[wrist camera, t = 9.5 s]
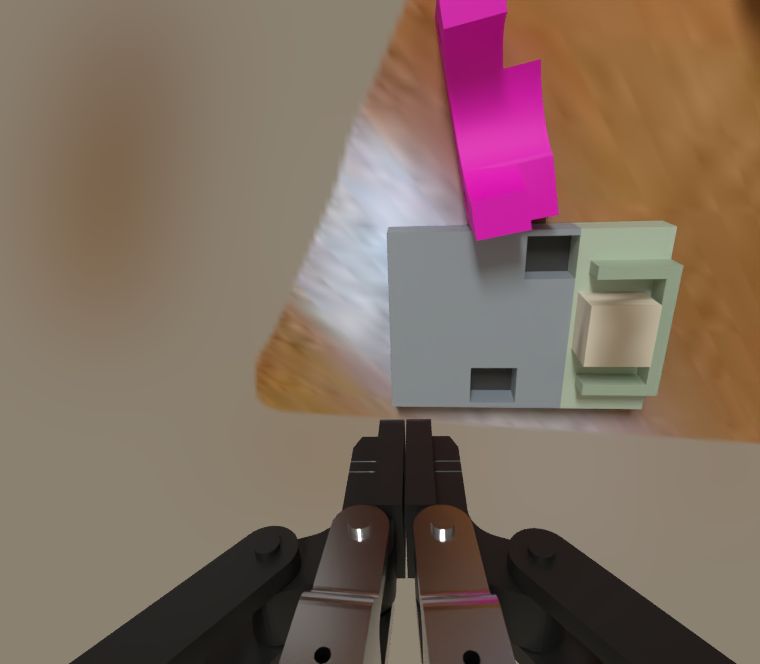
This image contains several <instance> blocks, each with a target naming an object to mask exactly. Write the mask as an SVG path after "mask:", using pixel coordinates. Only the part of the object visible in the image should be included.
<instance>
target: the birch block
mask: <svg viewBox="0 0 760 664" xmlns="http://www.w3.org/2000/svg"><path fill="white" fill-rule="evenodd" d="M661 311H662V305H661V304H659V303H658V302H657V301H655V300H654V299H653V298H651V297H650V296H649V295H647V294H646V293H645V292H643V291H612V292H578V297H577V305H576V313H575V321H574V329H573V338H572V346H571V349H572V350H573V352H574V353H575V355H576V356H577V358H578V359H579V361H580V362H581V364H582V365H583V367H651V362H652V357H653V352H654V347H655V342H656V337H657V331H658V326H659V321H660V316H661Z"/></svg>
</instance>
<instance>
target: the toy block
mask: <svg viewBox="0 0 760 664" xmlns="http://www.w3.org/2000/svg"><path fill="white" fill-rule="evenodd" d="M506 14H507V4H506V0H437V1H436V11H435V20H436V26H437V33H438V39H439V45H440V51H441V58H442V64H443V70H444V76H445V83H446V89H447V95H448V101H449V108H450V114H451V120H452V126H453V133H454V139H455V145H456V151H457V158H458V164H459V170H460V176H461V183H462V189H463V195H464V201H465V208H466V214H467V220H468V224H469V226H470V228H471V230H472V232H473V234H474V236H475V239H476V241H479V240H484V239H488V238H493V237H498V236H503V235H508V234H513V233H518V232H523V231H528V230H532V226H531V220H535V219H540V218H544V217H549V216H554V215H559V214H558V204H557V193H556V182H555V171H554V160H553V154H552V151H551V147H550V143H549V139H548V134H547V129H546V123H545V117H544V109H543V100H542V87H541V59H540V60H536V61H532V62H528V63H525V64H521V65H517V66H513V67H509V68H505V69H503V32H504V23H505V18H506Z"/></svg>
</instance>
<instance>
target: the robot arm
mask: <svg viewBox="0 0 760 664" xmlns="http://www.w3.org/2000/svg"><path fill="white" fill-rule="evenodd" d="M406 540H407V541H406ZM406 542H407V567H408V578H415V593H416V615H417V625H418V636H419V648H420V658H421V664H516V662H515V660H516V661H517V662H518V663H519V664H736V663H735V662H733V661H732V660H730V659H729V658H728V657H726V656H725V655H724V654H722V653H721V652H719V651H718V650H717V649H715V648H714V647H712V646H711V645H710V644H708V643H707V642H706V641H704V640H703V639H701V638H700V637H699V636H697V635H696V634H694V633H693V632H692V631H690V630H689V629H688V628H686V627H685V626H683V625H682V624H681V623H679V622H678V621H677V620H675V619H674V618H672V617H671V616H670V615H668V614H667V613H665V612H664V611H663V610H661V609H660V608H658V607H657V606H656V605H654V604H653V603H652V602H650V601H649V600H647V599H646V598H645V597H643V596H642V595H640V594H639V593H638V592H636V591H635V590H634V589H632V588H631V587H629V586H628V585H627V584H625V583H624V582H622V581H621V580H620V579H618V578H617V577H616V576H614V575H613V574H611V573H610V572H609V571H607V570H606V569H604V568H603V567H602V566H600V565H599V564H598V563H596V562H595V561H593V560H592V559H590V558H589V557H588V556H586V555H585V554H584V553H582V552H581V551H579V550H578V549H577V548H575V547H574V546H573V545H571V544H570V543H569V542H567V541H566V540H564V539H563V538H562V537H560V536H558V535H557V534H555V533H553V532H550V531H547V530H543V529H536V528H532V529H531V528H530V529H524V530H522V531H519V532H517V533H516V534H515V535H514V536H513V537H512V538H511V539H510V540H509V539H505V538H501V537H498V536H494V535H491V534H489V533H487V532H485V531H483V530H482V529H480V528H479V527H478V526H476V525H475V524H474V522H473V521H472V520H471V518H470V516H469V514H468V511H467V504H466V497H465V490H464V483H463V476H462V470H461V464H460V456H459V449H458V446H457V445H456V444H455V443H454V441H453V440H452V439H451V438H450V437H449V436H432V431H431V419H406V444H405V421H404V420H380V426H379V434H378V437H362V438H361V439H360V441H359V442H358V443H357V444H356V446H355V447H354V448H353V453H352V459H351V464H350V470H349V475H348V481H347V487H346V492H345V498H344V504H343V509H342V511H341V512H340V513H338V514H337V516H336V517H335V518H334V520H333V522H332V524H331V527H330V528H329V529H327V530H325V531H323V532H321V533H319V534H316V535H312V536H308V537H305V538H301V539H297V537H296V535H295V534H294V533H293V532H292V531H291V530H289V529H287V528H285V527H281V526H269V527H264V528H261V529H258V530H256V531H254V532H253V533H251V534H249V535H248V536H247V537H246V538H244V539H242V540H241V541H240V542H238V543H237V544H235V545H234V546H233V547H232V548H230V549H228V550H227V551H226V552H224V553H223V554H221V555H220V556H219V557H217V558H216V559H214V560H213V561H212V562H210V563H209V564H208V565H206V566H205V567H203V568H202V569H201V570H199V571H198V572H196V573H195V574H194V575H192V576H191V577H189V578H188V579H187V580H185V581H184V582H182V583H181V584H180V585H178V586H177V587H175V588H174V589H173V590H171V591H170V592H169V593H167V594H166V595H164V596H163V597H162V598H160V599H159V600H157V601H156V602H154V603H153V604H152V605H150V606H149V607H148V608H146V609H145V610H143V611H142V612H141V613H139V614H138V615H136V616H135V617H134V618H132V619H131V620H129V621H128V622H127V623H125V624H124V625H122V626H121V627H120V628H118V629H117V630H115V631H114V632H113V633H111V634H110V635H109V636H107V637H106V638H104V639H103V640H102V641H100V642H99V643H97V644H96V645H95V646H93V647H92V648H90V649H89V650H88V651H86V652H85V653H83V654H82V655H81V656H79V657H78V658H76V659H75V660H74V661H72V662H71V663H69V664H388V657H389V648H390V640H391V631H392V624H393V614H394V600H395V596H396V579H397V578H405V557H406V553H405V552H406Z"/></svg>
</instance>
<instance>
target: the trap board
mask: <svg viewBox="0 0 760 664" xmlns="http://www.w3.org/2000/svg"><path fill="white" fill-rule="evenodd" d="M531 226H532V230H528V231H523V232H518V233H513V234H508V235H503V236H498V237H493V238H488V239H484V240H479V241H476V239H475V236H474V234H473V232H472V230H471V228H470V226H469V225H458V226H415V227H389V228H388V231H387V252H388V282H389V312H390V342H391V372H392V402H393V406H400V407H492V408H584V409H642V405H643V400H644V396H657V392H658V387H659V383H660V378H661V373H662V368H663V363H664V358H665V353H666V349H667V344H668V339H669V334H670V329H671V324H672V319H673V314H674V310H675V305H676V300H677V295H678V290H679V285H680V280H681V275H682V271H683V265H681V264H679V263H678V262H676V261H674V260H672V259H671V256H672V251H673V246H674V240H675V235H676V230H677V226H675V225H672V224H669V223H667V222H664V221H630V222H587V223H544V224H531ZM612 291H643V292H645V293H646V294H647V295H649V296H650V297H651V298H653V299H654V300H655V301H657V302H658V303H659V304H661V305H662V311H661V316H660V321H659V326H658V331H657V337H656V342H655V347H654V352H653V357H652V362H651V367H583V365H582V364H581V362H580V361H579V359H578V358H577V356H576V355H575V353H574V352H573V350H572V349H571V346H572V338H573V329H574V321H575V313H576V305H577V297H578V292H612Z"/></svg>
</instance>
